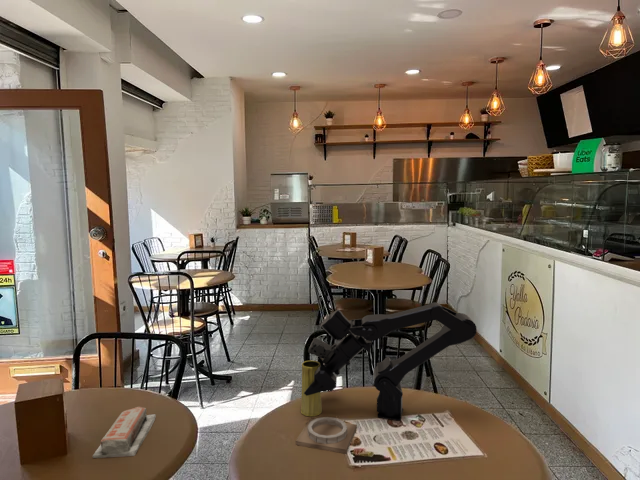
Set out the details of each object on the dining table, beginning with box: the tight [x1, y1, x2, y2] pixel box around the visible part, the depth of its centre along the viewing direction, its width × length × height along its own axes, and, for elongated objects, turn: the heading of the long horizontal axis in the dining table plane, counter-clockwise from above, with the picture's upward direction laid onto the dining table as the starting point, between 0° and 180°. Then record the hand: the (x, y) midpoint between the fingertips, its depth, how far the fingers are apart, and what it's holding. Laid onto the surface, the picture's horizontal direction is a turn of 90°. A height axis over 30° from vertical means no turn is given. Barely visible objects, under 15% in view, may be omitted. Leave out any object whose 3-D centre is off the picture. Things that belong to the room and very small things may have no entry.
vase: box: [300, 359, 323, 417], centre depth 125 cm, size 6×6×14 cm
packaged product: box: [92, 406, 157, 459], centre depth 113 cm, size 18×5×10 cm
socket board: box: [295, 416, 358, 454], centre depth 113 cm, size 13×12×2 cm
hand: (306, 386), depth 125 cm, fingers open, 9 cm apart
